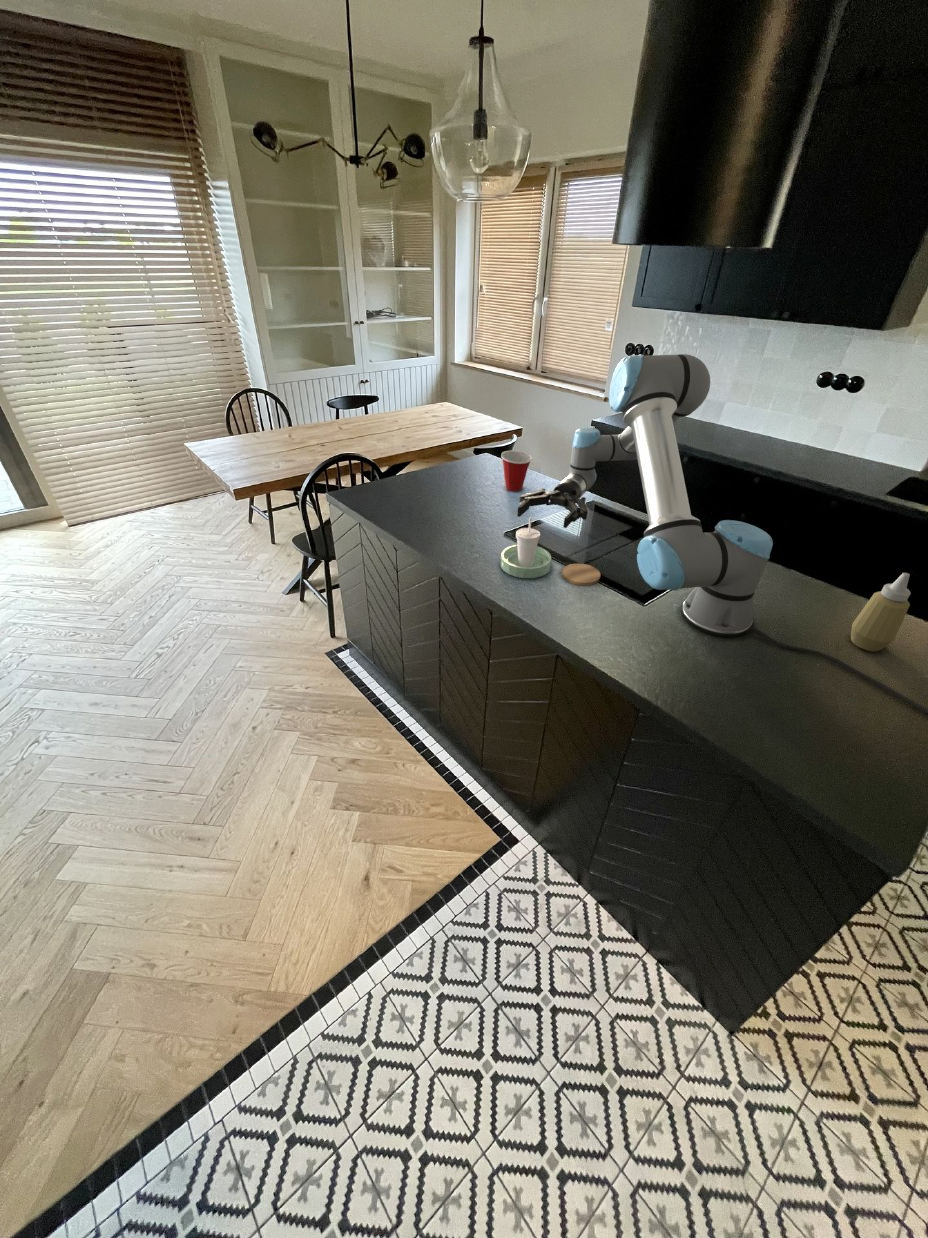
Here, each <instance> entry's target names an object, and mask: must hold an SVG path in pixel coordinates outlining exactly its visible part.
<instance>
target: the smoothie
mask: <svg viewBox="0 0 928 1238" xmlns="http://www.w3.org/2000/svg"><path fill="white" fill-rule="evenodd" d="M532 520H533V519H532V516H529V517H528V527H522V528H519V529H518V530H516V532H515V538H516V545H517V546H518V563H519V566H520V567H532V565H533V561H534V556H535V552H536V548H537V546H538V544H539V540H540V539H541V532H540V531H539V530H538V529H535V528H532Z"/></svg>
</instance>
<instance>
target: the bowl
mask: <svg viewBox="0 0 928 1238" xmlns="http://www.w3.org/2000/svg"><path fill="white" fill-rule="evenodd" d="M552 559H553V558H552V555H551V553H550V552H549V551H548V550H547V549H545V548H543V547H542V546H538V545H537V548H536V552H535V556H534V561H533V565H532V567H520V566H519V563H518V546H517V544H513V545H510V546H507V547H506V548H504V549H503V550H502V552H501V553H500V568H501V569H502V570H503V572H505V573H506V574H508V575H510V576H511V577H512V576H513V577H515V578H521V579H535V578H536V579H537V578H541V577H543V576H545V575H547V574H548V573H549V572H550V570H551V567H552Z"/></svg>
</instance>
